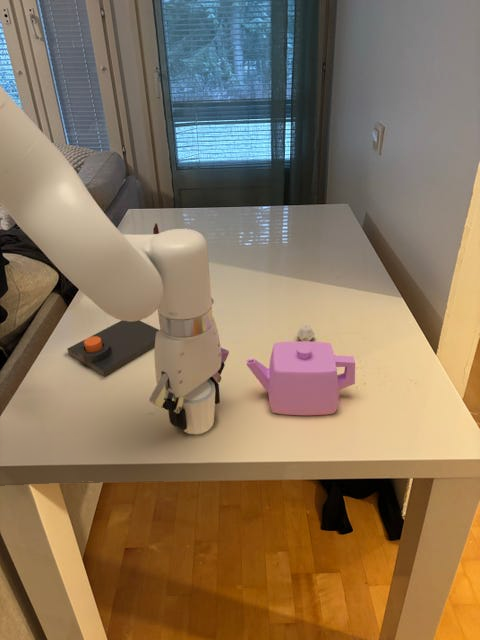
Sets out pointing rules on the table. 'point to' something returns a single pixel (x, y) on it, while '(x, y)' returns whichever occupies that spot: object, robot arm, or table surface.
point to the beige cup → (199, 408)
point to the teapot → (304, 377)
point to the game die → (305, 333)
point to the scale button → (93, 344)
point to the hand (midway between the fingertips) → (195, 411)
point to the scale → (116, 346)
